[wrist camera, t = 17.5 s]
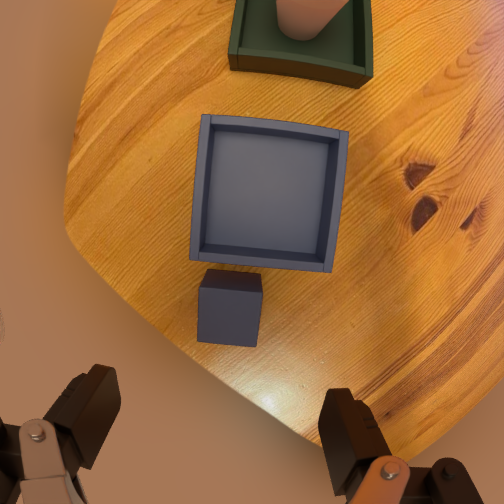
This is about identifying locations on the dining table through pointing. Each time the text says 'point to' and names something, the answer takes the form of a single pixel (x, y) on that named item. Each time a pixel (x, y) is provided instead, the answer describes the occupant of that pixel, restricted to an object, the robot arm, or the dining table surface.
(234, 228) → the blue bin
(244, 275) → the blue block
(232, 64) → the green bin
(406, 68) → the dining table surface
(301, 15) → the smoothie
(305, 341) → the dining table surface
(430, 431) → the dining table surface
